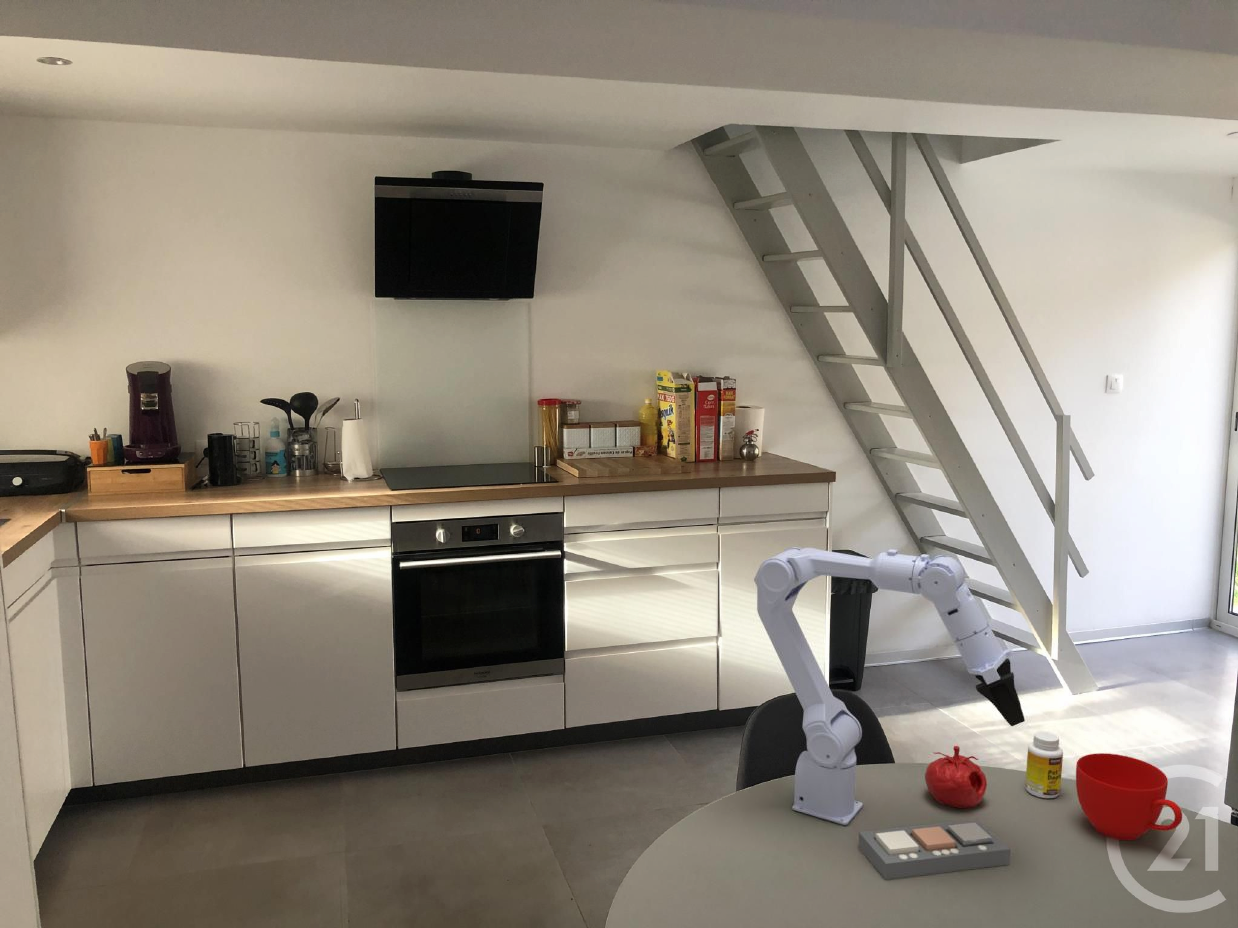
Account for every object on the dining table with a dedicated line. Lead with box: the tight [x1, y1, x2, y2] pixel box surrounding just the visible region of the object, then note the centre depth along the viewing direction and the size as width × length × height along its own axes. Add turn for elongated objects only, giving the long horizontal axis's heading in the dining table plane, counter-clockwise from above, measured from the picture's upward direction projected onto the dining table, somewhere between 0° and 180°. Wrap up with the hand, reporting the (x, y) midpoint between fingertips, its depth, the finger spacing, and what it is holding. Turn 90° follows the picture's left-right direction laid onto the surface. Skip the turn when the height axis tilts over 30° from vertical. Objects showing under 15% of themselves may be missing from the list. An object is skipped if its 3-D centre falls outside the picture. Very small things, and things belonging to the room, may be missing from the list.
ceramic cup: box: [1075, 752, 1183, 841], centre depth 155 cm, size 13×17×10 cm
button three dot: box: [912, 826, 956, 851], centre depth 149 cm, size 5×5×2 cm
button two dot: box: [876, 830, 919, 856], centre depth 148 cm, size 5×5×2 cm
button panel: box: [857, 818, 1011, 881], centre depth 150 cm, size 20×9×3 cm, turn 102°
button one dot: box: [948, 823, 992, 847], centre depth 151 cm, size 5×5×2 cm
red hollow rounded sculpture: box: [924, 745, 988, 809], centre depth 167 cm, size 10×10×9 cm
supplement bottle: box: [1024, 731, 1064, 799], centre depth 169 cm, size 6×6×10 cm
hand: (1016, 716), depth 146 cm, fingers open, 7 cm apart
